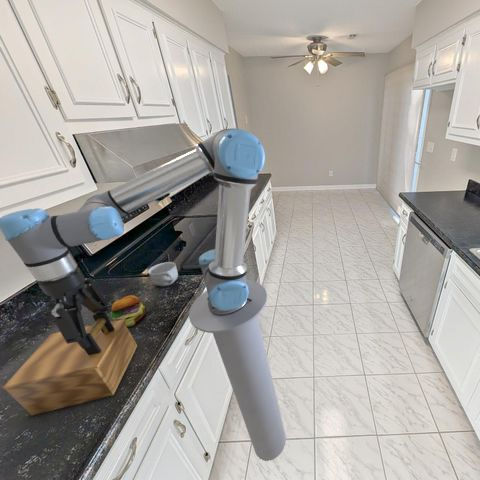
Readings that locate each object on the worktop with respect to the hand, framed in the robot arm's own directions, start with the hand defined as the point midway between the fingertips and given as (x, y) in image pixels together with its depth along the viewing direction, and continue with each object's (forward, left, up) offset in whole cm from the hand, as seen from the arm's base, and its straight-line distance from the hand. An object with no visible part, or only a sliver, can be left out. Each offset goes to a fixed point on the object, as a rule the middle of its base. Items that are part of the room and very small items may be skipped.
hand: (102, 341), depth 71 cm
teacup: (-2, -44, -12) cm, 46 cm away
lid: (+7, 0, -1) cm, 7 cm away
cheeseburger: (+6, -24, -12) cm, 28 cm away
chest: (+8, 0, -12) cm, 14 cm away
